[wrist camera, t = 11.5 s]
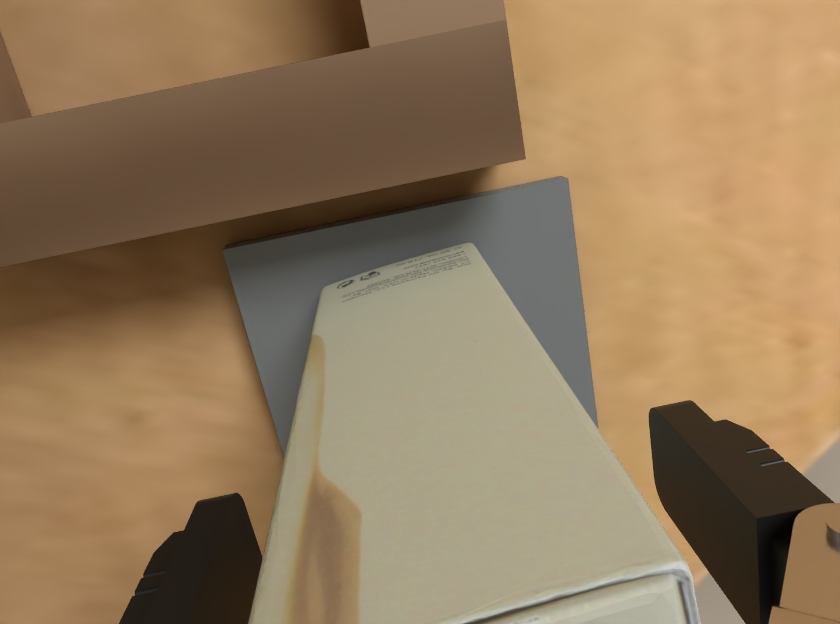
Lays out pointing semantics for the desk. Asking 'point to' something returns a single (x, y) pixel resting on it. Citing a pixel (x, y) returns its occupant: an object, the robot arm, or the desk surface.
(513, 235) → the mat
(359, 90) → the collar
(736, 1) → the desk surface
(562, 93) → the desk surface
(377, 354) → the skincare box
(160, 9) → the desk surface
